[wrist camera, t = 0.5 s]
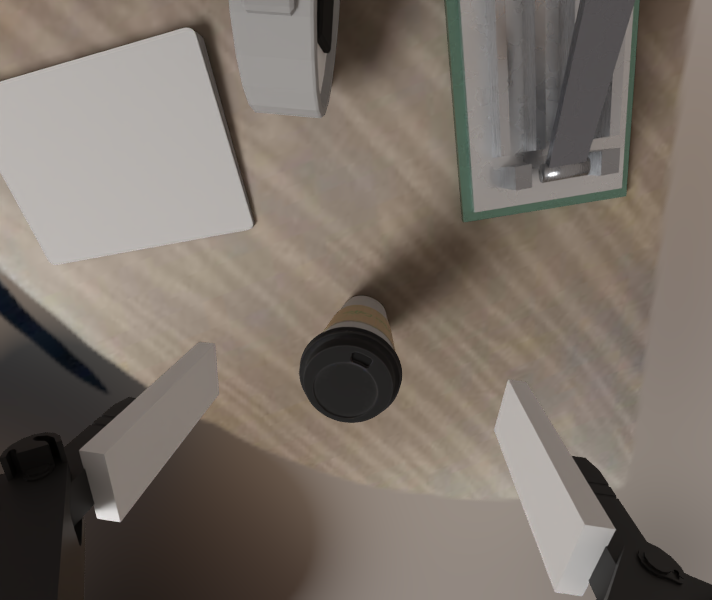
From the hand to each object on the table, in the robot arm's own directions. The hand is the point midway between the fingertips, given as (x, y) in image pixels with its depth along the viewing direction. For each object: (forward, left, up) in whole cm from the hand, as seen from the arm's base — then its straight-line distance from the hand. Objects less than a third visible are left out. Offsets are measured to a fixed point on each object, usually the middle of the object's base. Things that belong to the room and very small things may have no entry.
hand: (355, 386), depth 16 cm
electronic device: (-15, -28, -28) cm, 43 cm away
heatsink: (-15, +18, -27) cm, 36 cm away
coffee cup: (+8, -3, -28) cm, 29 cm away
